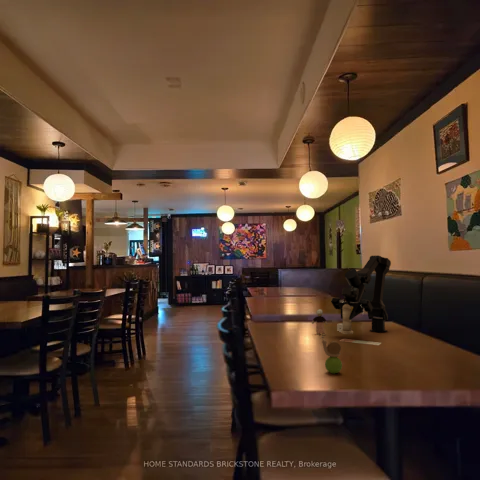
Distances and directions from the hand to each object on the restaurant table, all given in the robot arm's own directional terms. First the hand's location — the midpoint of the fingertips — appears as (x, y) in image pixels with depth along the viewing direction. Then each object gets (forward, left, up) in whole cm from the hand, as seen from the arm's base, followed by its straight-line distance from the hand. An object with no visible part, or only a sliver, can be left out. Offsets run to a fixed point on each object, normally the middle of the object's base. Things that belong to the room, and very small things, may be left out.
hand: (345, 318), depth 175 cm
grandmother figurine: (-2, -19, -11) cm, 22 cm away
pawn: (-1, 0, -7) cm, 7 cm away
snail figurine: (+41, +32, -11) cm, 53 cm away
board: (-4, +5, -10) cm, 12 cm away
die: (-18, -19, -11) cm, 28 cm away
